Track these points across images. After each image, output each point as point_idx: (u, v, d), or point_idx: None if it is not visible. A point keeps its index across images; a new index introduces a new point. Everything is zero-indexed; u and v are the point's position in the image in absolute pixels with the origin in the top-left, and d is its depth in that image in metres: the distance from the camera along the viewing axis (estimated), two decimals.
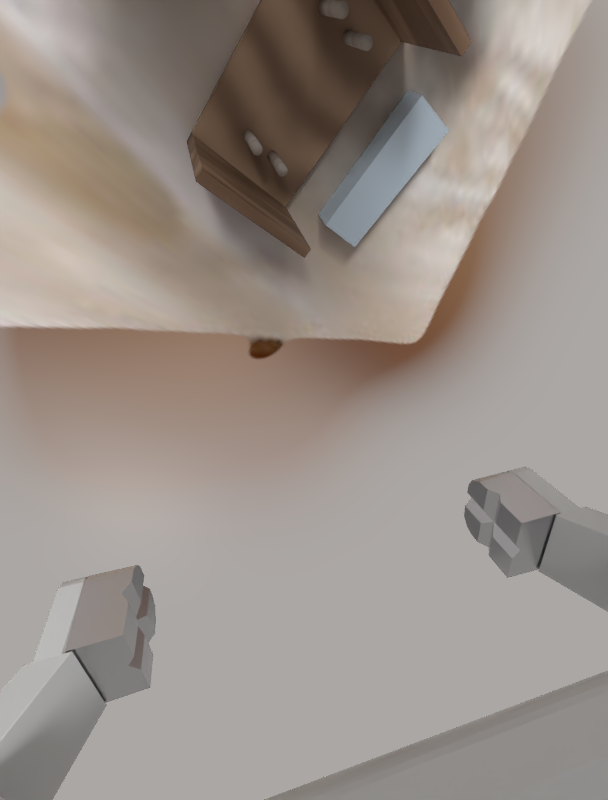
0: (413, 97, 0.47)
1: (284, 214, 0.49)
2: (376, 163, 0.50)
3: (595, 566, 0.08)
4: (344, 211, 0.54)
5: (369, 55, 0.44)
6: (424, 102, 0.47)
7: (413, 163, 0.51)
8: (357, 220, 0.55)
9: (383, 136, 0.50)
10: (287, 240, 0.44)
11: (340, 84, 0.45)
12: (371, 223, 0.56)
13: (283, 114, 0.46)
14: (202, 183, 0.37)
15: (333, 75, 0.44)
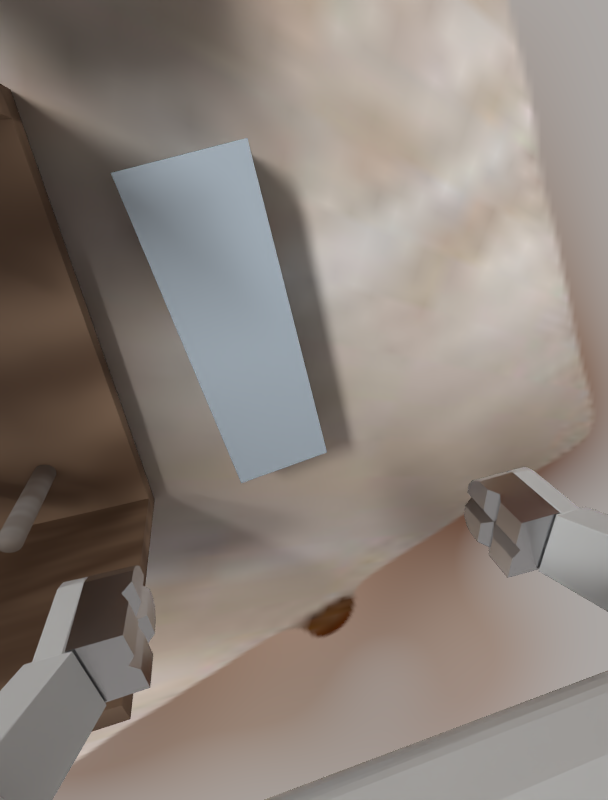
0: None
1: (110, 565, 0.22)
2: (197, 347, 0.21)
3: (595, 566, 0.08)
4: (245, 443, 0.24)
5: None
6: (133, 174, 0.17)
7: (258, 266, 0.20)
8: (282, 427, 0.24)
9: None
10: None
11: (8, 297, 0.20)
12: (310, 405, 0.24)
13: None
14: None
15: None
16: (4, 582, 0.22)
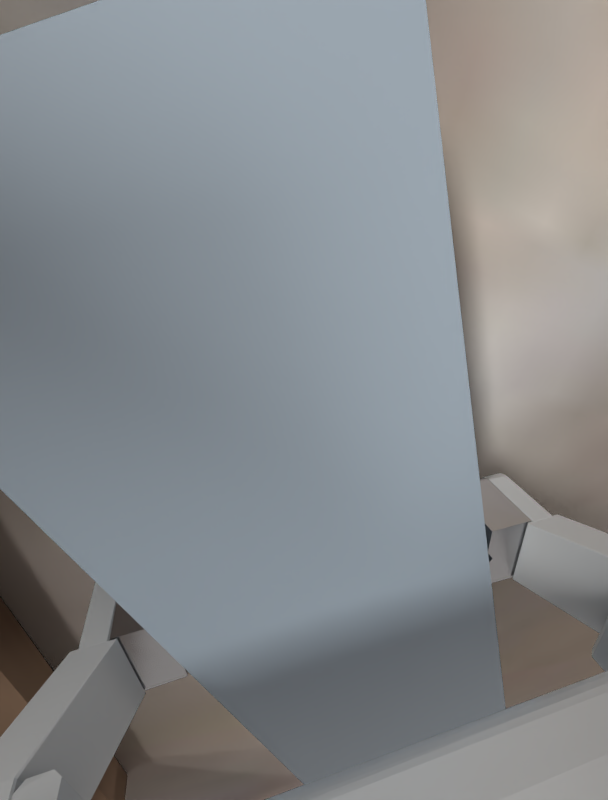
0: None
1: None
2: (223, 658, 0.07)
3: (566, 575, 0.08)
4: (344, 766, 0.11)
5: None
6: None
7: (408, 438, 0.06)
8: (427, 723, 0.11)
9: None
10: None
11: None
12: (491, 677, 0.10)
13: None
14: None
15: None
16: None
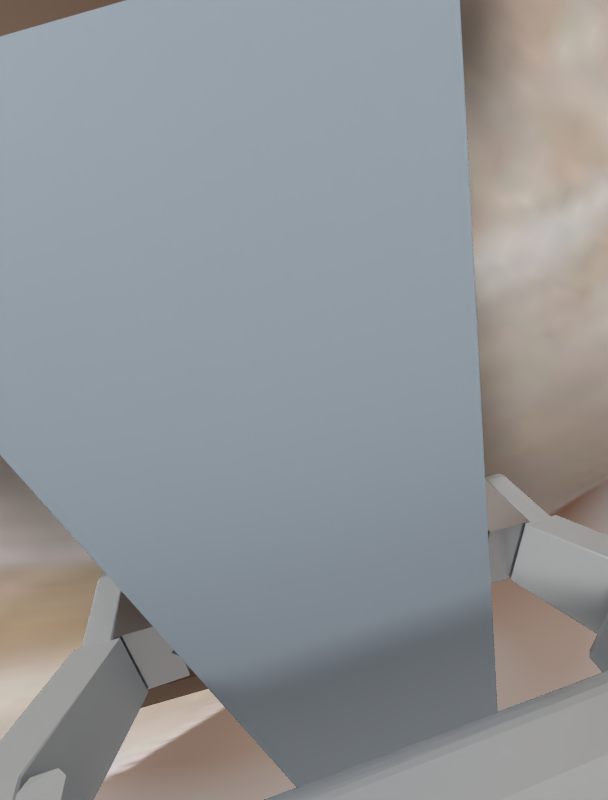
0: None
1: None
2: (224, 653, 0.07)
3: (564, 576, 0.08)
4: (336, 769, 0.11)
5: None
6: None
7: (418, 437, 0.06)
8: (420, 727, 0.11)
9: None
10: None
11: None
12: (485, 681, 0.10)
13: None
14: None
15: None
16: None
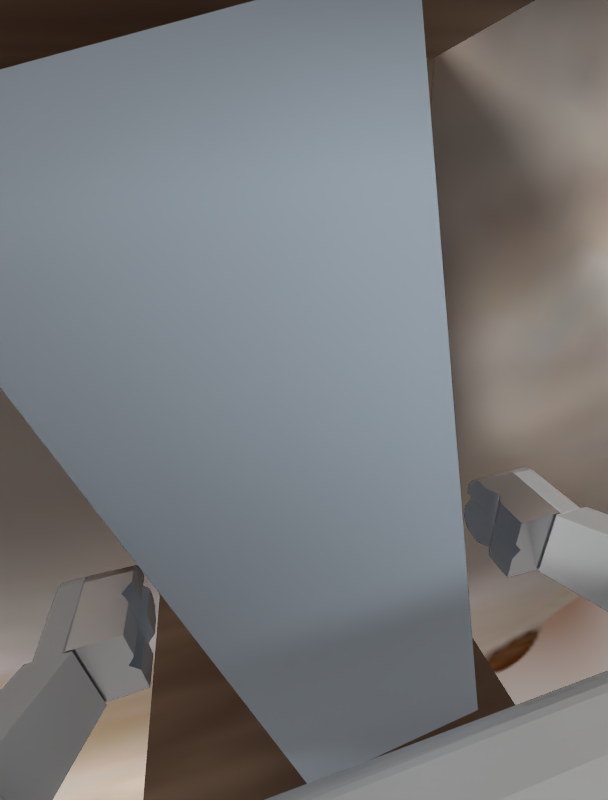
0: None
1: None
2: (218, 615, 0.08)
3: (595, 566, 0.08)
4: (323, 737, 0.11)
5: None
6: None
7: (395, 414, 0.07)
8: (402, 698, 0.11)
9: None
10: None
11: None
12: (463, 655, 0.11)
13: None
14: None
15: None
16: None
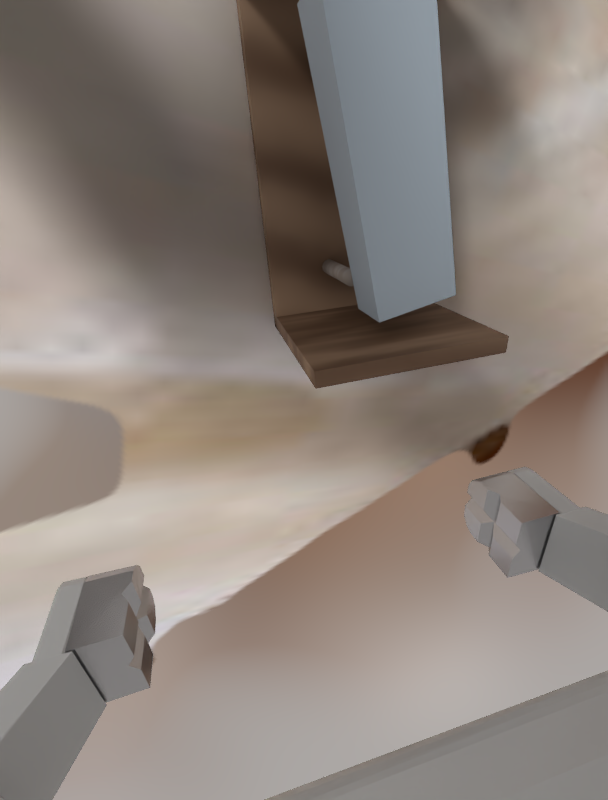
0: None
1: (428, 311, 0.33)
2: (362, 164, 0.23)
3: (595, 566, 0.08)
4: (388, 277, 0.26)
5: None
6: None
7: (424, 79, 0.21)
8: (422, 262, 0.26)
9: (331, 116, 0.23)
10: (469, 353, 0.27)
11: None
12: (448, 239, 0.26)
13: None
14: (324, 383, 0.25)
15: None
16: (362, 319, 0.33)
